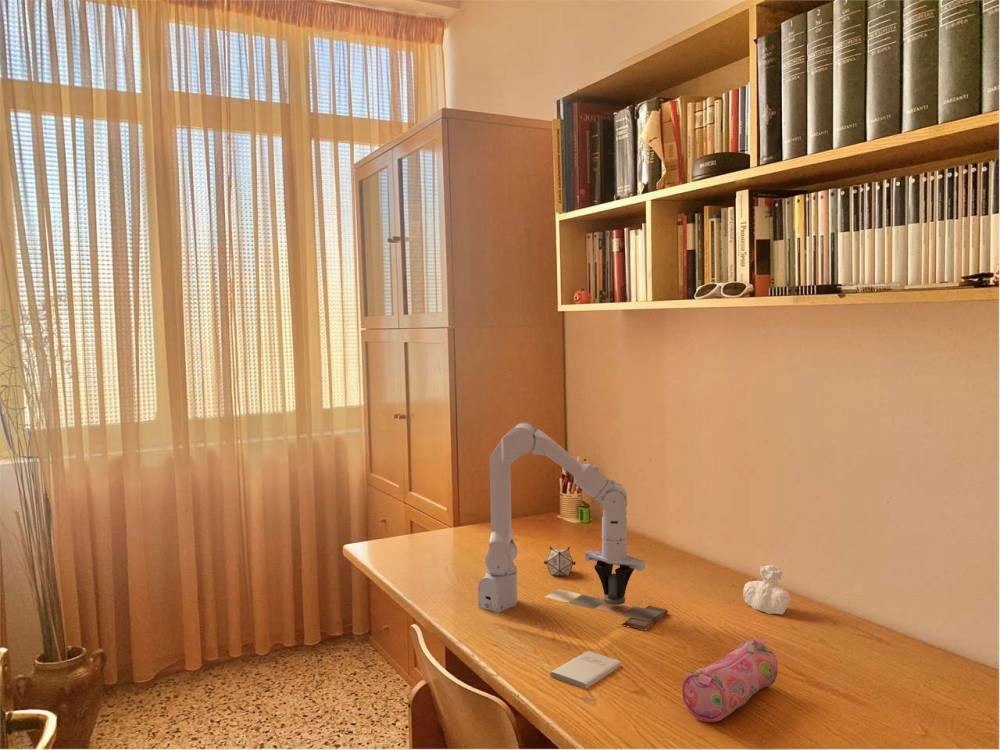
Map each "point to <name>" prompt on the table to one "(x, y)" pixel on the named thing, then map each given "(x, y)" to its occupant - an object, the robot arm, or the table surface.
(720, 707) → the pencil case
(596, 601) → the board
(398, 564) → the table surface
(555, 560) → the game die
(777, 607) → the bust
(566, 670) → the external hard drive
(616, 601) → the pawn
